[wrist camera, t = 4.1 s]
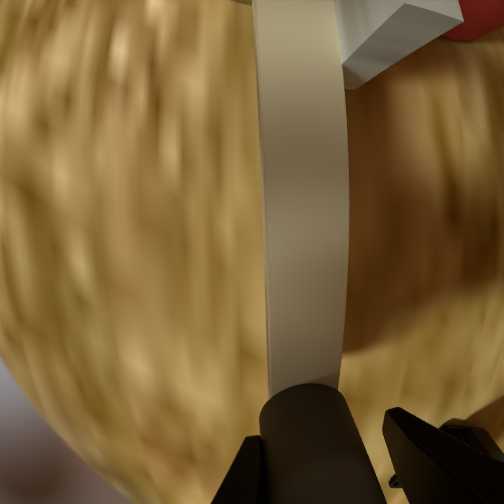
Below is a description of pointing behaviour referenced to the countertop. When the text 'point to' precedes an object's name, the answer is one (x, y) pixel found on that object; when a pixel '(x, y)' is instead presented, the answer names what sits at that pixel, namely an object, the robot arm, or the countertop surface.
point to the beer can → (477, 19)
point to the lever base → (244, 1)
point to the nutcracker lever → (317, 226)
